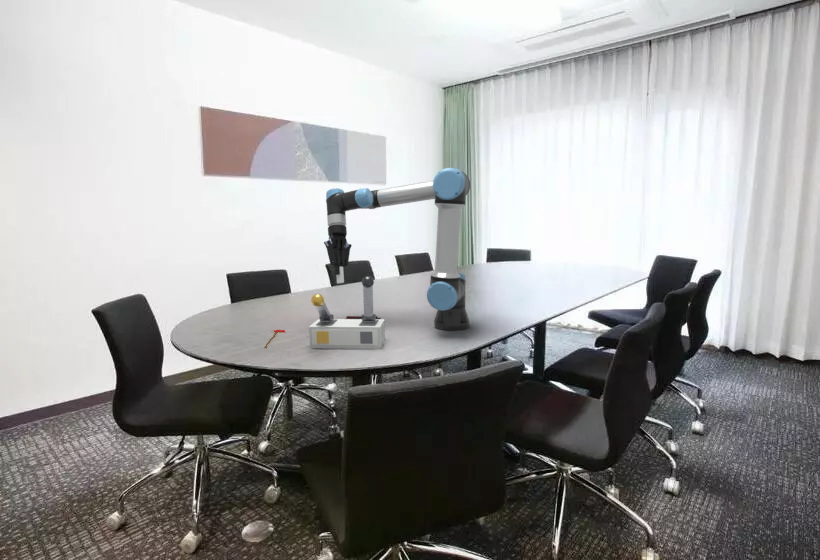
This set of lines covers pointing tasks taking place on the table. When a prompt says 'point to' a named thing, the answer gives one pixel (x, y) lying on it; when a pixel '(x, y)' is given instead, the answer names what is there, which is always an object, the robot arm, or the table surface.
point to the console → (347, 334)
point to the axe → (274, 336)
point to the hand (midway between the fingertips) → (340, 282)
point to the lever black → (368, 299)
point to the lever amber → (321, 308)
